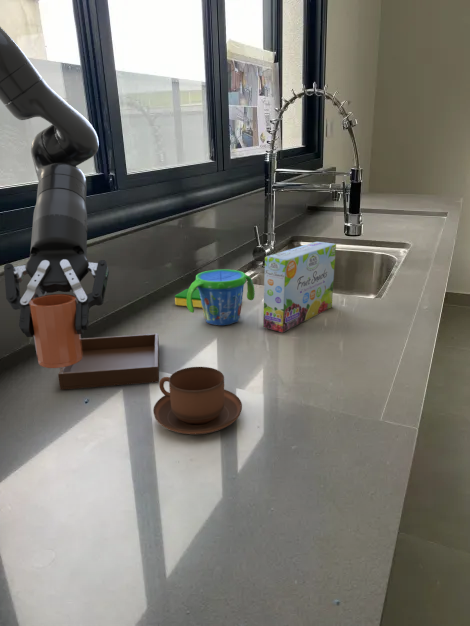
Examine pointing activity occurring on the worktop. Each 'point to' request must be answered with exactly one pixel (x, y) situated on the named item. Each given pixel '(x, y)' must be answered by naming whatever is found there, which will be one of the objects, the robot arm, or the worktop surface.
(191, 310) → the snack cup
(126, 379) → the tray
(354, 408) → the worktop surface
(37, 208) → the robot arm
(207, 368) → the cup and saucer
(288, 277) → the snack box
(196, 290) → the dish sponge
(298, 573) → the worktop surface
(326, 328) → the worktop surface
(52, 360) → the tumbler
